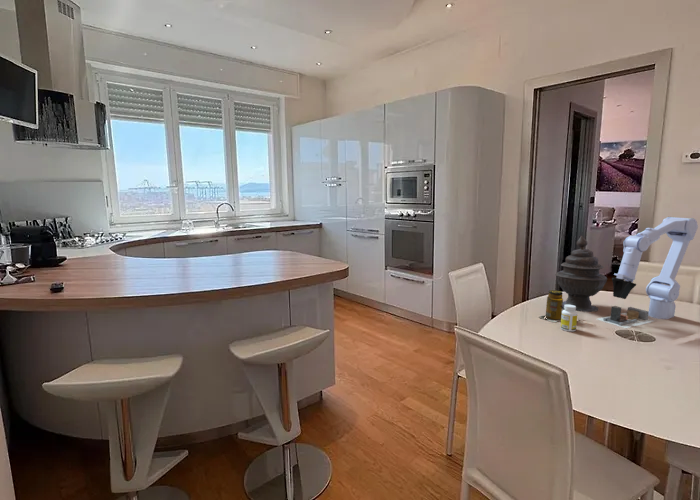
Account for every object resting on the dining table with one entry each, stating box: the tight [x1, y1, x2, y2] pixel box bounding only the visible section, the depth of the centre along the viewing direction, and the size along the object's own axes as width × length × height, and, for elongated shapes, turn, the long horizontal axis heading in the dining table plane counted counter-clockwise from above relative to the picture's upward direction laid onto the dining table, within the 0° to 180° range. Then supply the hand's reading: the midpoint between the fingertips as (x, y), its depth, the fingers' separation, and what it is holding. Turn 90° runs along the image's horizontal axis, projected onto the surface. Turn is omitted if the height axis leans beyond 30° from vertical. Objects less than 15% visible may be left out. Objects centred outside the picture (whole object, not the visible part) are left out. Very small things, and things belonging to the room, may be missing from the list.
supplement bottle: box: [560, 304, 578, 333], centre depth 150 cm, size 5×5×10 cm
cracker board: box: [596, 306, 656, 329], centre depth 158 cm, size 20×12×5 cm, turn 114°
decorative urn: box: [555, 235, 608, 313], centre depth 174 cm, size 20×20×35 cm
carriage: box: [607, 305, 628, 324], centre depth 155 cm, size 6×4×6 cm
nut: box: [626, 310, 639, 320], centre depth 159 cm, size 4×4×3 cm
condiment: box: [538, 289, 564, 323], centre depth 164 cm, size 7×8×12 cm
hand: (619, 297), depth 153 cm, fingers open, 7 cm apart
